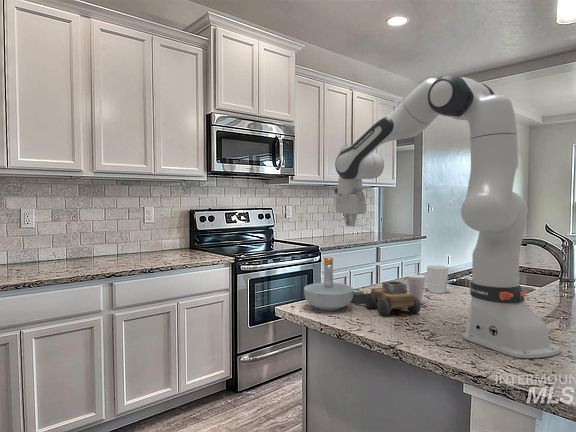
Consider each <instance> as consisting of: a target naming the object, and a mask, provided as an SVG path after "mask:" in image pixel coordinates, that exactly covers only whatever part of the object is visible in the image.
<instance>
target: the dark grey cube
mask: <svg viewBox="0 0 576 432" xmlns="http://www.w3.org/2000/svg"><path fill="white" fill-rule="evenodd" d="M366 294H367V293H366V292H363V291H353V298H352V300H351V302H352V303H353V304H355V305H366V303H365V296H366ZM351 302H350V303H351Z"/></svg>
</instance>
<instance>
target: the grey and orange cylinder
mask: <svg viewBox="0 0 576 432" xmlns="http://www.w3.org/2000/svg"><path fill="white" fill-rule="evenodd" d="M323 260H324V261H323V283H324V288H333V283H334V257H324V258H323Z"/></svg>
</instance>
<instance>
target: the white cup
mask: <svg viewBox="0 0 576 432" xmlns="http://www.w3.org/2000/svg"><path fill="white" fill-rule="evenodd" d="M448 275H449V267H448V266H445V265H440V264H439V265H436V264H435V265H434V264H433V265H427V266H426V276H427V277H426V278H427V286H428V287H427V289H428V290H427V291H428V293H431V294H446V293H447V290H448V289H447V288H448V287H447V286H448V278H449V276H448Z"/></svg>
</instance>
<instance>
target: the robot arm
mask: <svg viewBox="0 0 576 432" xmlns="http://www.w3.org/2000/svg"><path fill="white" fill-rule="evenodd" d="M439 115H440V116H444V117H449V118H452V119H455V120H459V121H467V123H468V126H469V142H470V143H469V144H470V173H469V180H468V186H467V191H466V196H465V199H464V201H463V202H462V205H461V208H460V215H461V218H462V221H463V223H464V224H465V225H466V226H467V227H469V228H470V229H472V230H474V231H477V232H478V237H477V241H476V243H475V248H474V249H473V251H472V259H471V260H472V263H471V264H472V267H471V269H472V270H471V271H472V277H471V278H472V279H471V281H470V286H469V293H470V296H471V300H470V303H469V306H468V310H467V311H468V312H467V318H466V319H467V320H466V329H465V332H463V336H462V338H463V340H466V341H469V342H471V343H474V344H477V345H479V346H482V347H484V348H488V349H491V350H493V351H497V352H499V353H501V354H504V355H506V356H510V357H512V358H518V359H519V358H522V359H535V358H536V359H537V358H538V359H539V358H547V357H552V356H557V355H559V354H560V353H561V347H560V346H559V345H556V344H554V343H552V342H551V341H550V337H549V331H548V326H547V324H546V322H544V321H543V320H542V319H541V317H539V315H537V314H536V313H535V312H534V310H533V309H531V307H530V306H529V305H528V304H527V303H526V302H525V301H526V300H525V297H528V296H529V295H528V293H529V291H523V290H522V286H521V285H520V255H521V254H520V253H521V249H522V247H521V246H522V242H523V237H524V231H525V226H526V225H525V224H526V218H527V217H528V213H529V208H528V204H527V202H526V200H525V199H524V198H523V197H522V196H521V195H519V194H518V193H516V192H514V191H513V188H514V183H515V176H516V175H515V174H516V171H517V169H518V168H519V167H518V165H519V154H518V133H517V132H518V131H517V130H518V129H517V120H516V115H515V110H514V106H513V104H512V101H511V99H510V98H509V97H507V96H505V95H502V94H495V92H494V90H492V89H491V87H489V86H488V85H486V84H485V83H481V82H478V81H476V80H475V79H473V78H470V77H469V78H468V77H465V76H460V75H456V74H448V75H443V76H440V77H438V78H436V77H430V78H427V79H425V80H424V81H422V82H421V83H420V84H418V86H416V87H415V88H414V89H412V91H411V92H410V93H409V94H408V95H407V96H406V97H405V98H404V99H403V101H401V103H400V104H399V105H398V106H396V107H395V109H393V110H392V111H391V112H389V113H388V114H387V115H385V116H384V117H382V118H380V119H379V120H378V121H376V122H375V123H374V124H373V125H372V126H371V127H369V128H368V130H366V132H364V133H363V135H361V136H360V137H359V138H357V140H356V141H355V142H354V143H352V144H346V145H344V146H342V147H340V150H339V153H338V155H337V157H336V159H335V163H334V164H335V165H334V166H335V171H336V172H337V175H338V182H337V183H338V184H337V186H336V187H335V188H334V190H333V193H334V195H335V199H334V200H335V201H334V202H335V203H334V205H335V211H336V214H343V218H344V221H345V224H344V225H345V226H347V227H355V226H356V220H357V218H358V216H357V215H366V212H367V202H366V201H367V200H366V195H365V194H364V191H363V180H375V179H377V178H379V177H380V176H381V175H382V173H383V170H384V167H385V166H384V165H385V162H384V159H383V157H382V156H381V155H380V154H379V153H376V152H374V151H376V150H377V149H378V148H379V147H380V146H381V145H384V144H386V143H389V142H391V141H396V140H405V139H410V138H414V137H416V136H418V135H419V134H421V133H422V132H423V131H425V130H426V129H427V128H428V127H429V126H430V125H431V124H432V122H433V121H434V120H435V119H436V118H437V117H438V116H439Z"/></svg>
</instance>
